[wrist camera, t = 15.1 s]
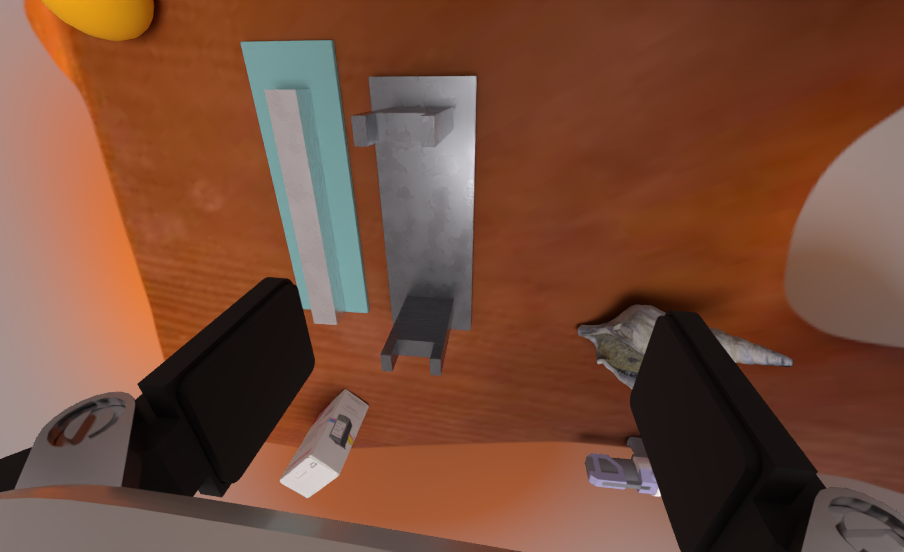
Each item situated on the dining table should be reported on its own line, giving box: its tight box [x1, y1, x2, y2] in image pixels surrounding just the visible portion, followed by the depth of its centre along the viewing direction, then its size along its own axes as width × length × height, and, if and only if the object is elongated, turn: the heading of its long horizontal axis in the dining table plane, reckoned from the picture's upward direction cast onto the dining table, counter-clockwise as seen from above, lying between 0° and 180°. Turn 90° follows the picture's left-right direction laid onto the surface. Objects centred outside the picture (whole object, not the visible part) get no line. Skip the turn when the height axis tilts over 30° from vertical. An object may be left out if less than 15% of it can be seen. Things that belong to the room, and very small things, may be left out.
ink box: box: [280, 389, 369, 498], centre depth 53 cm, size 9×5×12 cm, turn 138°
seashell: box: [578, 304, 794, 389], centre depth 40 cm, size 10×17×10 cm, turn 92°
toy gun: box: [585, 437, 661, 497], centre depth 49 cm, size 7×28×8 cm, turn 91°
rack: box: [351, 76, 477, 376], centre depth 36 cm, size 28×10×12 cm, turn 0°
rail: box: [264, 89, 346, 325], centre depth 41 cm, size 26×3×3 cm, turn 0°
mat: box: [240, 40, 369, 313], centre depth 41 cm, size 30×9×1 cm, turn 0°
